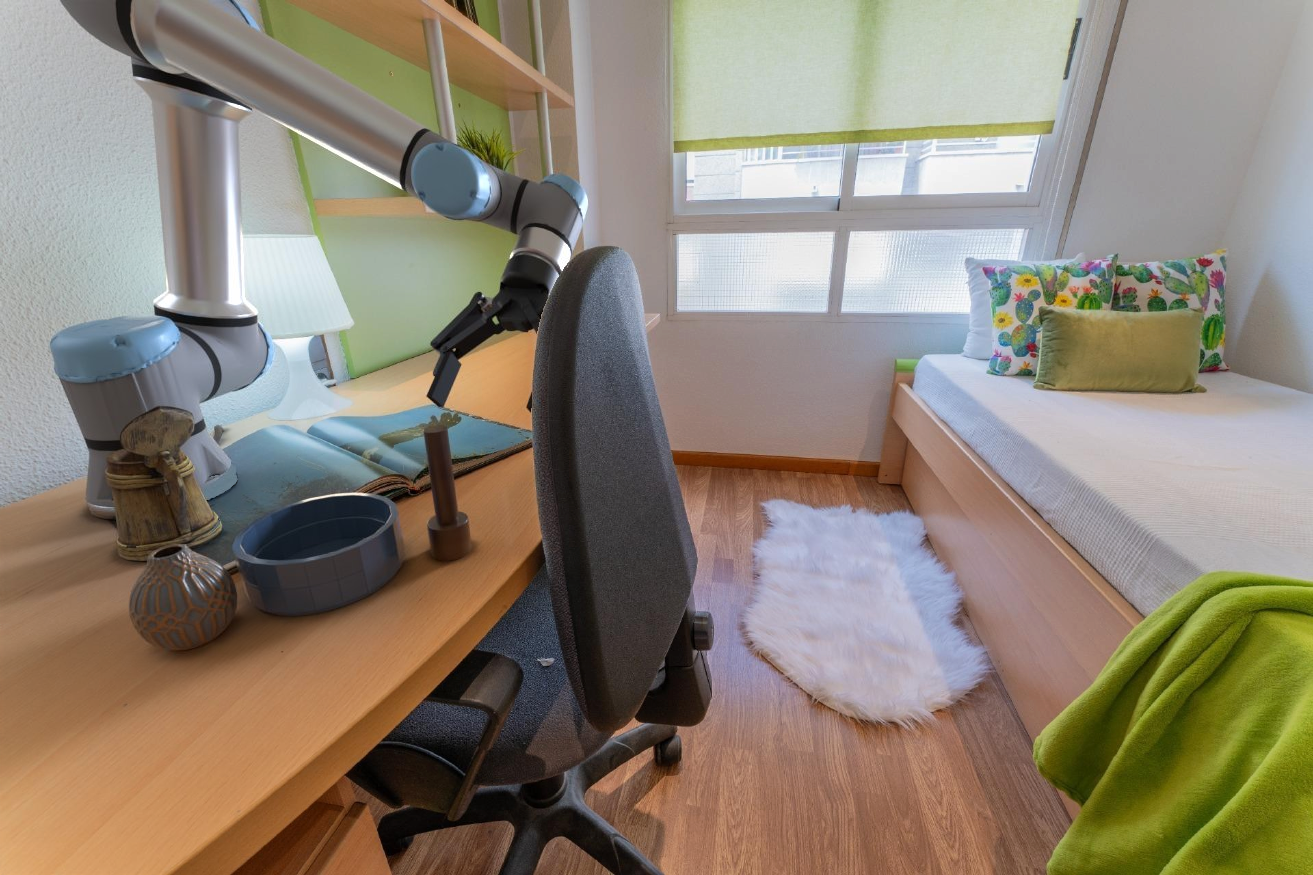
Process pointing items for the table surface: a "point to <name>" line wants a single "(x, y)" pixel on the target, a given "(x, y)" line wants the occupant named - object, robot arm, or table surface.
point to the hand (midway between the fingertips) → (482, 407)
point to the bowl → (319, 553)
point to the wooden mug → (157, 486)
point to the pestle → (444, 500)
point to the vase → (182, 599)
